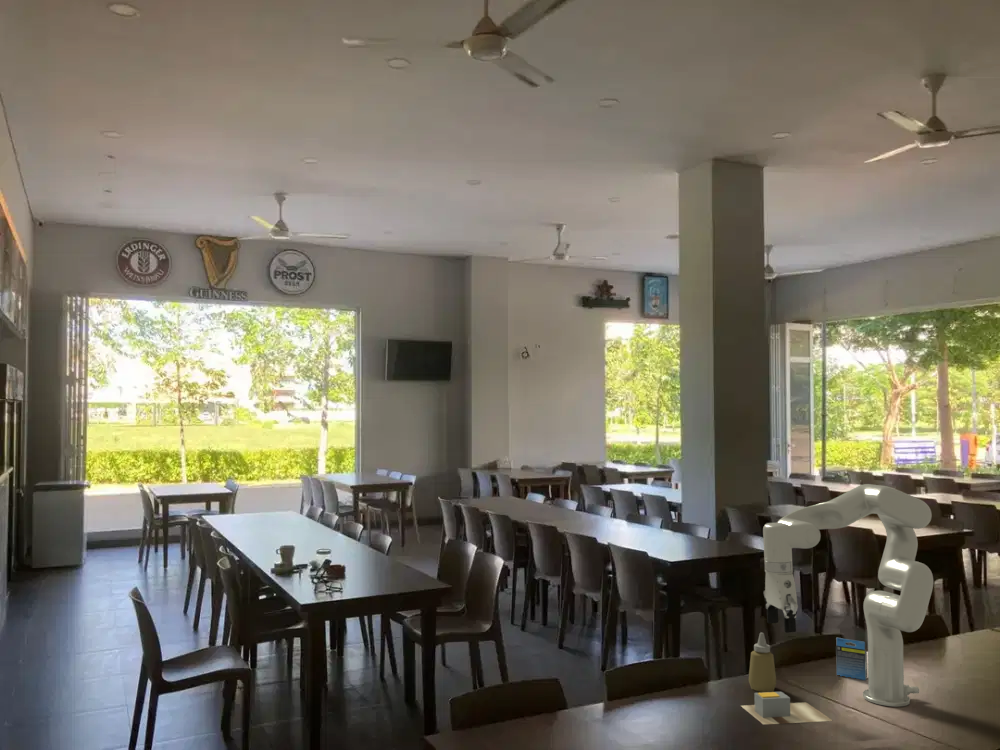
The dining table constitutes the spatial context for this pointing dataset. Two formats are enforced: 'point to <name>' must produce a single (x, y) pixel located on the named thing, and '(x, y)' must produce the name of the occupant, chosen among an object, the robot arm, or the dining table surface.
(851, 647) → the label tape box
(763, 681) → the squeeze bottle
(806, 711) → the board
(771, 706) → the grey block
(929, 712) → the dining table surface
